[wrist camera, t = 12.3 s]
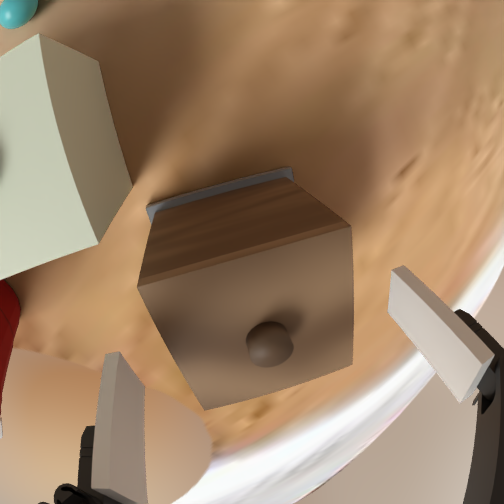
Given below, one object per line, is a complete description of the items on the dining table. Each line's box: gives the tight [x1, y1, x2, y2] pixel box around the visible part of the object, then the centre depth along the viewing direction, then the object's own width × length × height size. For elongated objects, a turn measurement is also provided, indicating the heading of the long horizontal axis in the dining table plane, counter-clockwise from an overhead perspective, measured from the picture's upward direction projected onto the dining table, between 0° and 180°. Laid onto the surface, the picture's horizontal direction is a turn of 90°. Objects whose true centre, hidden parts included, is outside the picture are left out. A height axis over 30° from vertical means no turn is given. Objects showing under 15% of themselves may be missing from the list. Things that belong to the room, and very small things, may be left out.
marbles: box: [0, 0, 38, 29], centre depth 12 cm, size 18×6×3 cm, turn 12°
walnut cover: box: [137, 177, 354, 410], centre depth 17 cm, size 9×9×10 cm
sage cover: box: [0, 33, 133, 280], centre depth 12 cm, size 9×9×10 cm
